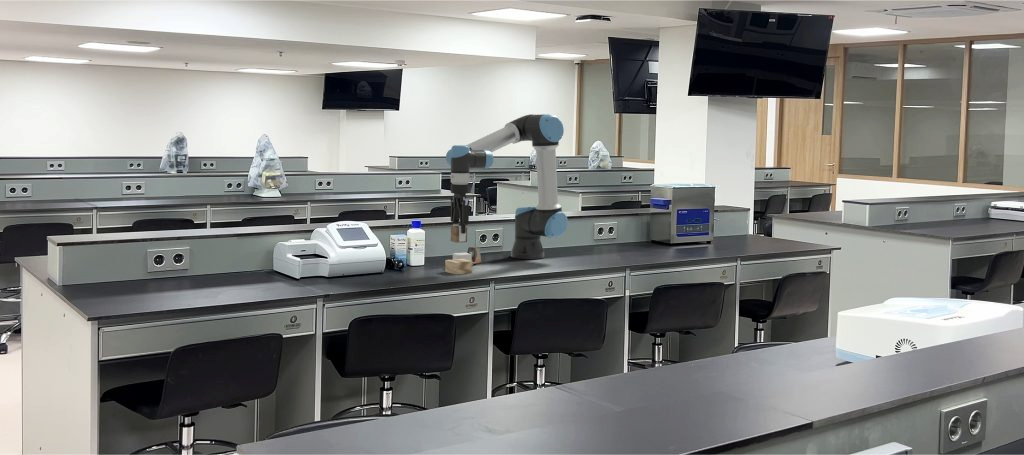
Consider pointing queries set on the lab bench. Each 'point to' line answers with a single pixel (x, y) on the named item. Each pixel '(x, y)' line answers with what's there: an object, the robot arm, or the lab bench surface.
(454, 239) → the walnut block
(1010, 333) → the lab bench surface
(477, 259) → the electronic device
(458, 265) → the oak base
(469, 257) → the grey cube
